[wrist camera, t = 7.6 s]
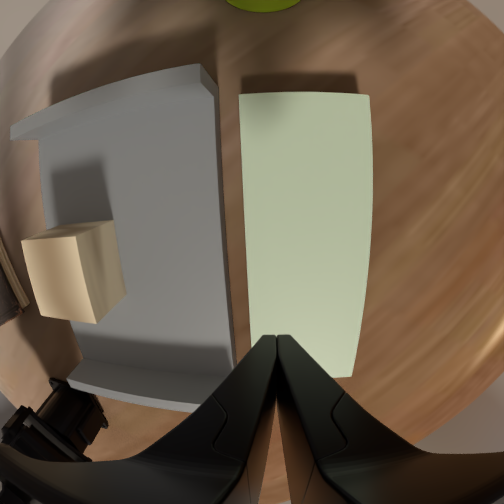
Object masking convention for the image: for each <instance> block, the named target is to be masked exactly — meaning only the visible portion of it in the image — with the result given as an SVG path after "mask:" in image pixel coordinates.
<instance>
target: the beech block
mask: <svg viewBox="0 0 504 504" xmlns="http://www.w3.org/2000/svg"><path fill="white" fill-rule="evenodd" d="M21 243H22V248H23V253H24V257H25V262H26V266H27V270H28V274H29V278H30V281H31V285H32V288H33V292H34V295H35V298H36V301H37V304H38V307H39V310H40V313H41V316H47V317H53V318H59V319H65V320H72V321H78V322H85V323H93V324H97V323H98V322H99V321H100V320H101V319H102V318H103V317H104V316H105V315H106V314H107V313H108V312H109V311H110V310H111V309H112V308H113V307H114V306H115V305H116V304H117V303H118V302H119V301H120V300H121V299H122V298H123V297H124V296H125V295H126V294H127V293H126V288H125V283H124V278H123V273H122V268H121V263H120V258H119V252H118V246H117V240H116V233H115V226H114V220H107V221H96V222H86V223H76V224H66V225H59V226H56V227H53V228H51V229H48V230H46V231H43V232H41V233H38V234H36V235H33V236H31V237H28V238H26V239H24V240H21Z"/></svg>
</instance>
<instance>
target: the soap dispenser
mask: <svg viewBox="0 0 504 504" xmlns="http://www.w3.org/2000/svg"><path fill="white" fill-rule="evenodd" d="M226 1H227V2H228V3H230V4H231V5H233V6H235V7H237V8H240V9H242V10H246V11H251V12H274V11H280V10H283V9H286V8H289V7H291V6H293V5H295V4H296V3H298V2H299V1H300V0H226Z"/></svg>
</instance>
